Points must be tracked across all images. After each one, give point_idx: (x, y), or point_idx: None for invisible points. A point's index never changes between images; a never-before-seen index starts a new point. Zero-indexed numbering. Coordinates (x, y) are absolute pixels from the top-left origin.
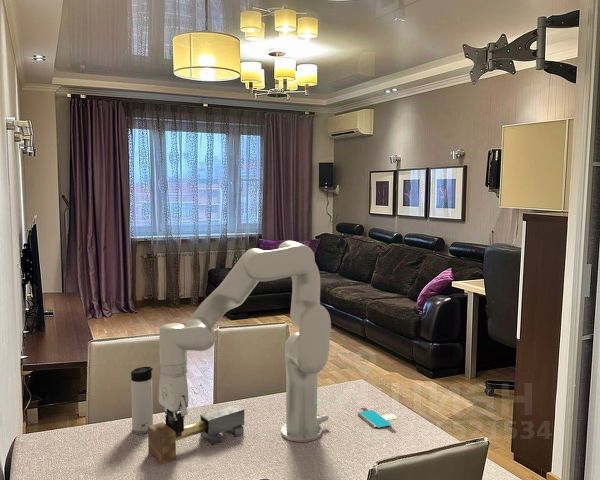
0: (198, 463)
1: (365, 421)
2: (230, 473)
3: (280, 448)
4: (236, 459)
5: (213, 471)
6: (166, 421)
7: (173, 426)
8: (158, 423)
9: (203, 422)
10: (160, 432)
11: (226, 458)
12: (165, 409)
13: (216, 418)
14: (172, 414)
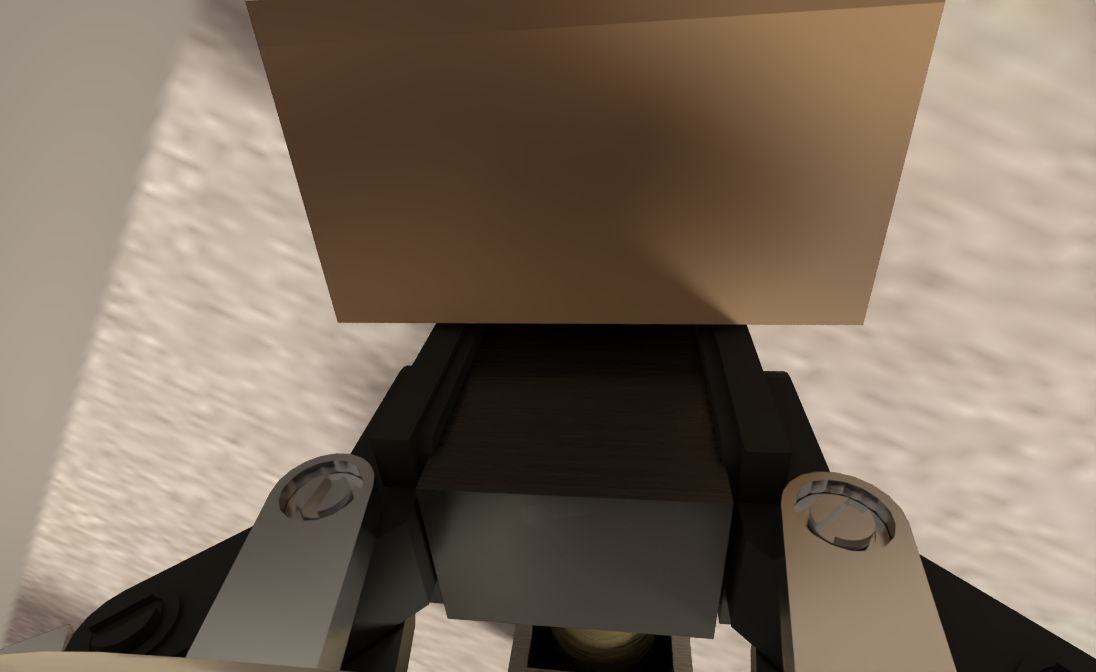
0: (303, 300)
1: None
2: (93, 392)
3: None
4: (259, 495)
5: (147, 326)
6: (723, 368)
7: (413, 365)
8: (879, 237)
9: (574, 635)
10: (435, 88)
11: (295, 464)
12: (877, 590)
13: None
14: (626, 556)
